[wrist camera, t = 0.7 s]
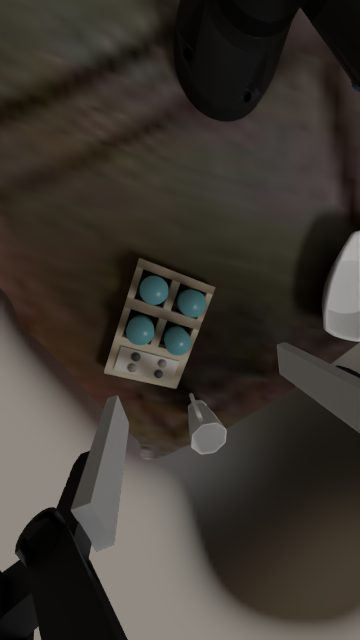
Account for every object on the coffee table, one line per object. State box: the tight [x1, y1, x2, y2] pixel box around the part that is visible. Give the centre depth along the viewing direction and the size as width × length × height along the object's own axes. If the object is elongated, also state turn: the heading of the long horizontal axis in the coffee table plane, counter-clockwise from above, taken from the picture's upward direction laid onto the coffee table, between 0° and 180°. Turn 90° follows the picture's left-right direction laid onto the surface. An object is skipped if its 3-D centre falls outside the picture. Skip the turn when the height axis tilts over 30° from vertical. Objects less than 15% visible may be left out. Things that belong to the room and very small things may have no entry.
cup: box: [188, 393, 227, 454], centre depth 36 cm, size 7×10×8 cm
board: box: [104, 258, 215, 389], centre depth 33 cm, size 21×14×2 cm, turn 160°
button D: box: [164, 326, 191, 355], centre depth 32 cm, size 4×4×3 cm
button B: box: [177, 289, 206, 317], centre depth 31 cm, size 4×4×3 cm
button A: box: [140, 276, 168, 305], centre depth 29 cm, size 4×4×3 cm
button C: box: [126, 315, 154, 345], centre depth 30 cm, size 4×4×3 cm
